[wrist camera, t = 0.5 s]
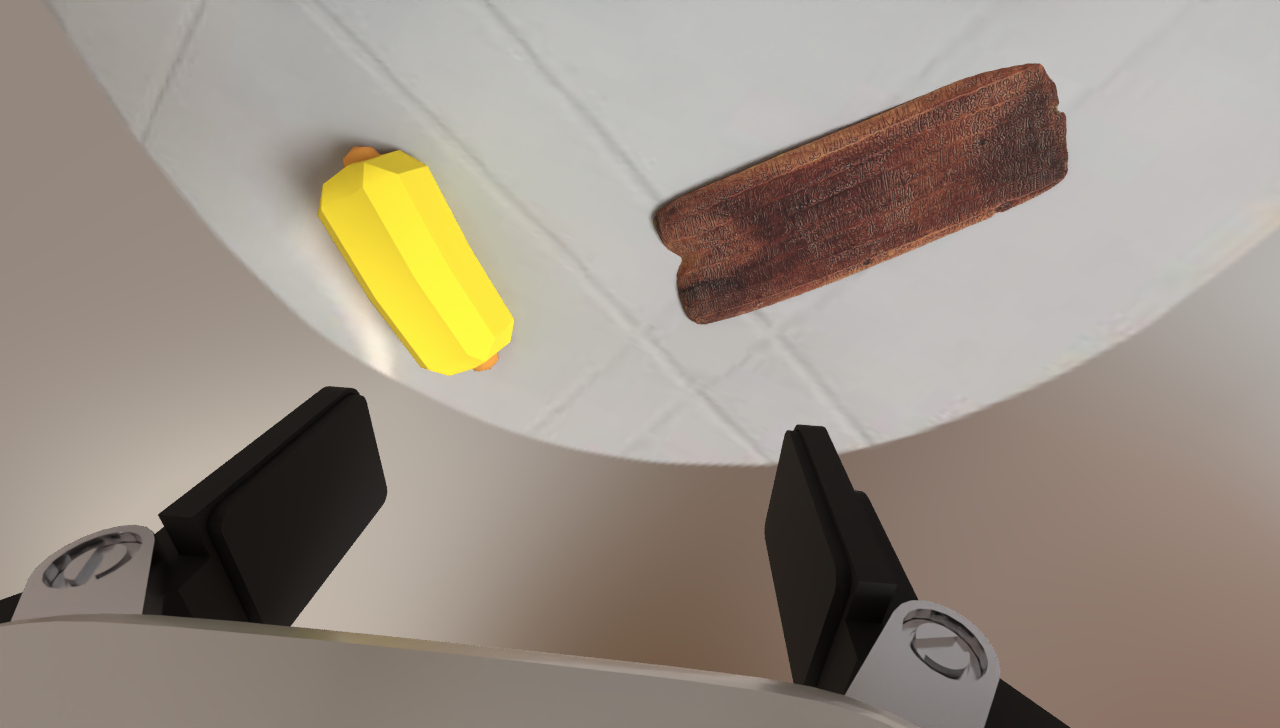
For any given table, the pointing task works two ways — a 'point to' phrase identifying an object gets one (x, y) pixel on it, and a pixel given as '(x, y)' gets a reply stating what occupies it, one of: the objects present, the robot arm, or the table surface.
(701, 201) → the wooden tablet
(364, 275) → the yellow faceted part
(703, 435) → the table surface
